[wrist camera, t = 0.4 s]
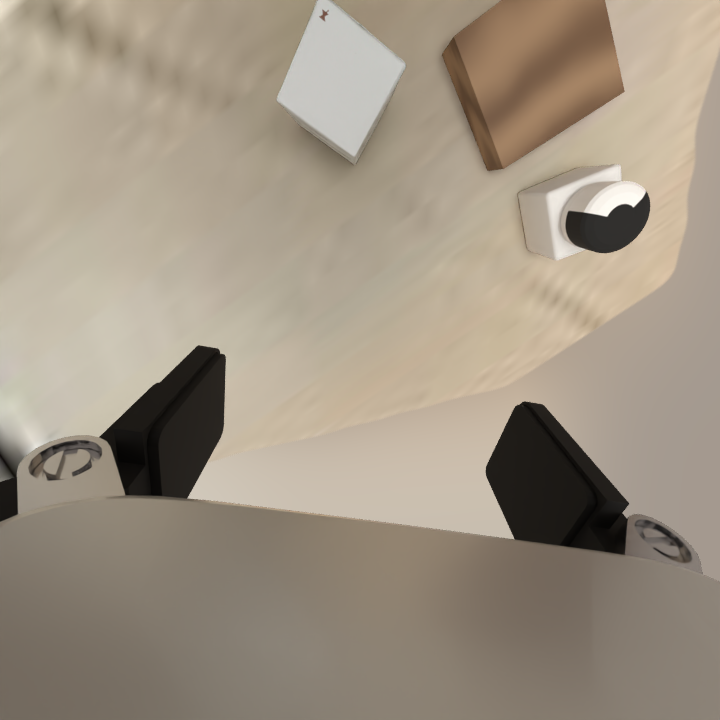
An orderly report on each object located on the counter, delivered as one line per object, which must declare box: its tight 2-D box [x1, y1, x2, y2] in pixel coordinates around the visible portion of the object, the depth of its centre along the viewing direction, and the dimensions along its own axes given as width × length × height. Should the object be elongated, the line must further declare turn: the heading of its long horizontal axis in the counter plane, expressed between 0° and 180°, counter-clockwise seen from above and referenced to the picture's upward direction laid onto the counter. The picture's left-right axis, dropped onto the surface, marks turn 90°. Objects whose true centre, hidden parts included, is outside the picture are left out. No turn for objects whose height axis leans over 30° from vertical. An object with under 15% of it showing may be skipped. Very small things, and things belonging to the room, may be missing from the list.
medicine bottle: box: [518, 164, 650, 260], centre depth 36 cm, size 7×7×12 cm
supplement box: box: [277, 0, 406, 165], centre depth 31 cm, size 7×7×13 cm
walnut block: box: [442, 0, 624, 171], centre depth 33 cm, size 12×12×5 cm
